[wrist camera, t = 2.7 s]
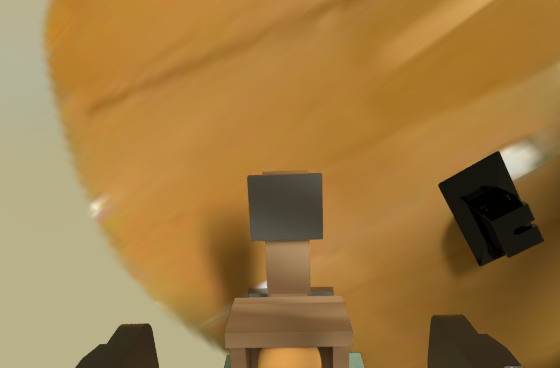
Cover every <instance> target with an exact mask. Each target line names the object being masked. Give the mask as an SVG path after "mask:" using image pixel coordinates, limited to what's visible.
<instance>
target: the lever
mask: <svg viewBox="0 0 560 368" xmlns="http://www.w3.org/2000/svg"><path fill="white" fill-rule="evenodd" d="M247 182H248V198H249V214H250V230H251V241H265V250H266V269H267V288H268V297H254V298H235V299H234V303H233V304H232V308H231V311H230V315H229V318H228V322H227V325H226V329H225V332H224V337H225V348H229V350H230V362H231V368H258V358H259V354H260V351H261V348H271V347H317V348H318V351H319V353H320V357H321V368H349V346H352V342H353V331H352V327H351V324H350V320H349V317H348V313H347V310H346V306H345V303H344V301H343V297H342V296H310V250H309V239H323V207H322V174H321V173H308V172H307V170H305V171H275V172H263V173H262V175H248V177H247Z"/></svg>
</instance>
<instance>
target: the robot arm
mask: <svg viewBox="0 0 560 368" xmlns="http://www.w3.org/2000/svg"><path fill="white" fill-rule="evenodd" d="M76 368H159V364H158V359H157V353H156V348H155V343H154V337H153V332H152V328H151V326H150V325H149V324H122V325H120V326H119V327H118V329H117V330H116V331H115V333H114V334H113V336H112V337H111V339H110V340H109V341H108V343H107V344H100V345H99V346H97V347H96V348H95V349H94V350H92V351H91V352H90V353H89V354H88V355H86V356H85V357H84V358H82V360H81V361H80V362H79V364H78V365H77V366H76ZM428 368H522V367H521V364H520V363H519V362H518V361H517V360H516V359H515V357H514V356H513V355H512V354H511V353H510V351H509V350H508V349H507V348H506V347H505V346H503V345H502V344H500V343H499V342H497V341H496V340H495V339H493V338H492V337H490V336H489V335H488V334H478V333H477V332H476V330H475V329H474V328H473V326H472V325H471V324H470V322H469V321H468V320H467V319H466V318H465V317H464V316H463V315H434V316H433V317H432V319H431V325H430V337H429V349H428Z"/></svg>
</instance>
